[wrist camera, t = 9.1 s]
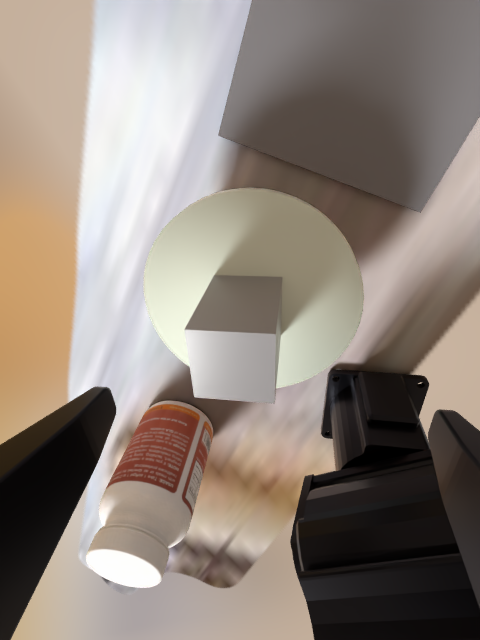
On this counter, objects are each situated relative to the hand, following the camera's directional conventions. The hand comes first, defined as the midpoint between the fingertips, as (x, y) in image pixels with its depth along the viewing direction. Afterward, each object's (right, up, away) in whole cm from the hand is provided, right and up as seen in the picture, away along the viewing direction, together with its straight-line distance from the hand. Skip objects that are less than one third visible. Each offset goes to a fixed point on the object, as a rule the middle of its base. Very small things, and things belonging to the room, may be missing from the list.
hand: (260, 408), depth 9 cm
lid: (0, +3, +7) cm, 8 cm away
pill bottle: (-6, -6, +20) cm, 22 cm away
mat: (+5, +14, +5) cm, 16 cm away
